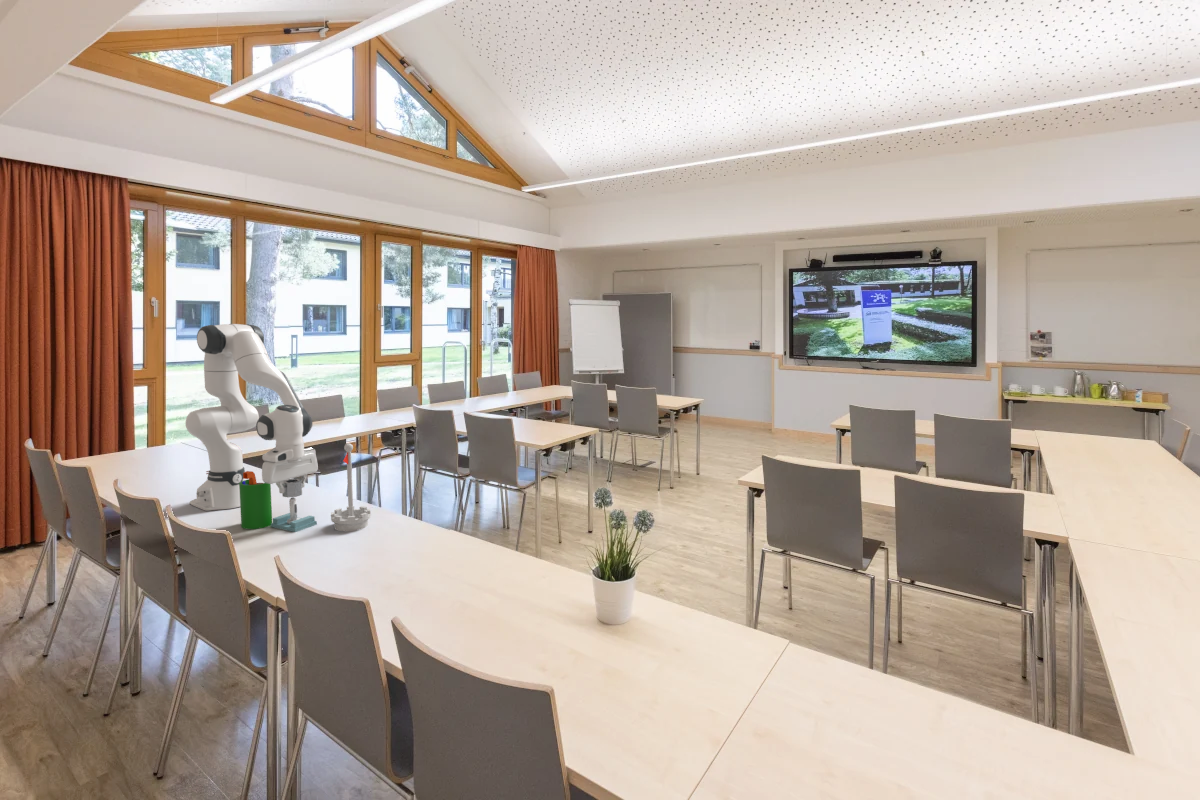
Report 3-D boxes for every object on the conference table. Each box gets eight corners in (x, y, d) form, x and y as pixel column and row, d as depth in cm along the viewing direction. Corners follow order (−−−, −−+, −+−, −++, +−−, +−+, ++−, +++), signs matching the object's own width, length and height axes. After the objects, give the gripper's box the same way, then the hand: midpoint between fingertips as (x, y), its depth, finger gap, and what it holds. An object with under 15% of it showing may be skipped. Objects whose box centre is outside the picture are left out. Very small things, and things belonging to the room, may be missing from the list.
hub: (279, 495, 216) (278, 481, 216) (293, 491, 222) (293, 477, 221) (291, 498, 214) (290, 484, 213) (305, 493, 219) (305, 480, 219)
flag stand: (340, 519, 227) (337, 439, 223) (376, 520, 227) (373, 440, 223) (325, 532, 214) (321, 447, 210) (363, 532, 214) (360, 447, 210)
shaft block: (271, 526, 218) (269, 498, 216) (292, 519, 226) (291, 492, 225) (295, 532, 213) (293, 503, 212) (316, 524, 221) (315, 496, 220)
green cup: (277, 521, 223) (275, 467, 221) (262, 530, 214) (258, 474, 212) (251, 520, 224) (248, 466, 222) (234, 528, 215) (231, 472, 213)
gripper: (308, 445, 227) (310, 482, 228) (257, 456, 208) (260, 496, 210) (321, 447, 224) (322, 484, 226) (270, 458, 205) (273, 498, 207)
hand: (292, 490), depth 218 cm, fingers closed on hub, 6 cm apart
